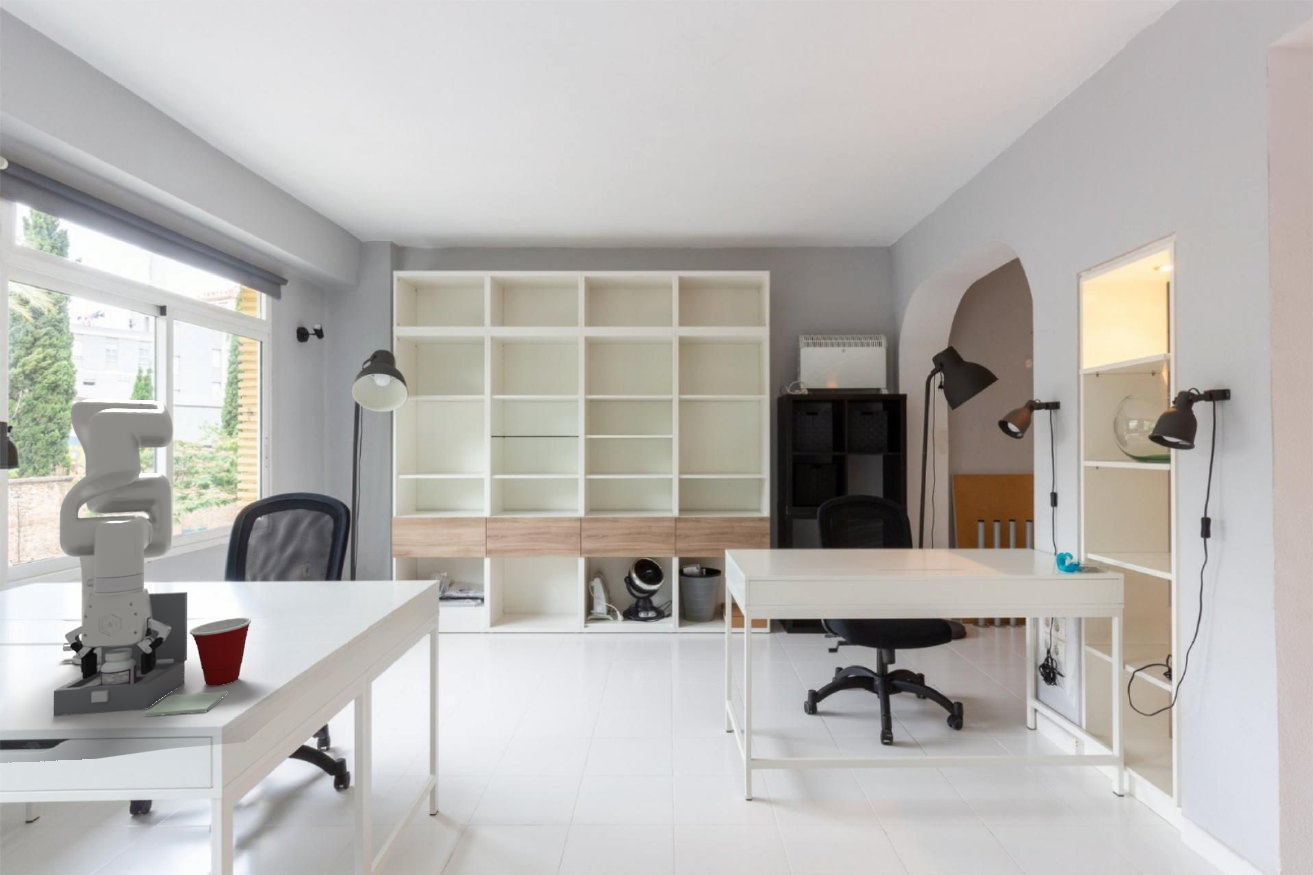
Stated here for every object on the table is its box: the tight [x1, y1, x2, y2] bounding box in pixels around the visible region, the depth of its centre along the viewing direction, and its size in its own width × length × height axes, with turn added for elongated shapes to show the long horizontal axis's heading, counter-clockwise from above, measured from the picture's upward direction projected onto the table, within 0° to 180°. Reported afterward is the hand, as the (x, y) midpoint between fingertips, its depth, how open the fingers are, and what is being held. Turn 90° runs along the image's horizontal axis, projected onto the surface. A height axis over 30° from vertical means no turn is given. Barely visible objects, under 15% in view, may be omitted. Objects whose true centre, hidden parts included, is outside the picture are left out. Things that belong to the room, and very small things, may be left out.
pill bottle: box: [100, 648, 137, 686], centre depth 129 cm, size 5×5×10 cm
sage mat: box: [143, 691, 228, 718], centre depth 126 cm, size 10×9×1 cm
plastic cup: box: [189, 617, 252, 687], centre depth 139 cm, size 11×11×12 cm
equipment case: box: [53, 591, 188, 717], centre depth 130 cm, size 15×16×18 cm
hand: (118, 674), depth 129 cm, fingers open, 9 cm apart
